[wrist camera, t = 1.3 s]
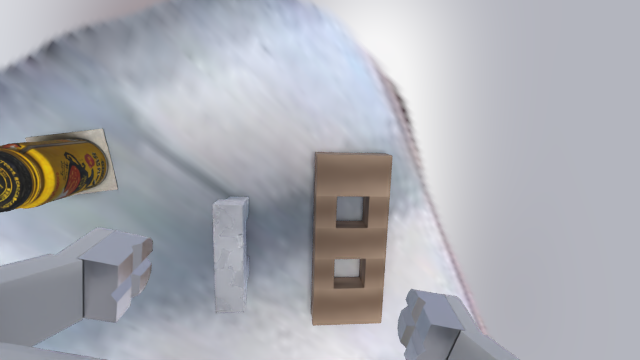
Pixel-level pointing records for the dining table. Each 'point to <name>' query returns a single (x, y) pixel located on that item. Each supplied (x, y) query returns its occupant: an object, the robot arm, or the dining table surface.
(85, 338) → the dining table surface
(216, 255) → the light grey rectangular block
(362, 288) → the brown wooden block
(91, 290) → the robot arm
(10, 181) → the condiment
